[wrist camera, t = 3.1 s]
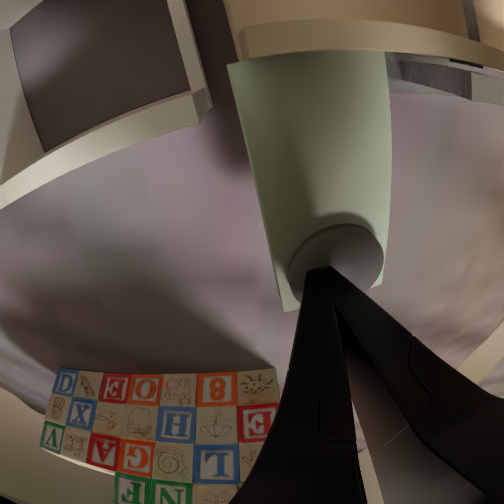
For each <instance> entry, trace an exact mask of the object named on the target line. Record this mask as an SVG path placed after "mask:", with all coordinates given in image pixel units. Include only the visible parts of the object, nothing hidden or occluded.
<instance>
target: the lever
mask: <svg viewBox="0 0 504 504" xmlns="http://www.w3.org/2000/svg"><path fill="white" fill-rule="evenodd" d="M223 3H224V6H225V10H226V14H227V18H228V21H229V25H230V29H231V33H232V37H233V41H234V45H235V49H236V53H237V57H238V61H239V62H236V63H232V64H228V65H227V70H228V74H229V78H230V82H231V86H232V90H233V94H234V98H235V102H236V106H237V111H238V115H239V119H240V123H241V127H242V131H243V136H244V140H245V144H246V148H247V153H248V157H249V161H250V166H251V170H252V174H253V179H254V183H255V187H256V192H257V196H258V201H259V205H260V210H261V214H262V219H263V223H264V228H265V232H266V237H267V241H268V246H269V251H270V255H271V260H272V265H273V269H274V274H275V279H276V283H277V288H278V293H279V296H280V300H281V303H282V307H283V310H284V312H288V311H292V310H296V309H300V304H301V298H302V292H303V286H304V280H305V274H306V271H308V270H312V269H317V268H321V267H326V266H332V267H333V268H335V269H336V270H337V271H338V272H339V273H341V274H342V275H343V276H344V277H346V278H347V279H348V280H349V281H350V282H352V283H353V284H354V285H355V286H356V287H358V288H359V289H360V290H361V291H362V292H364V293H365V292H367V291H368V290H369V289H370V288H371V287H375V286H378V285H381V283H382V277H383V270H384V263H385V255H386V246H387V237H388V227H389V214H390V199H391V174H392V137H391V113H390V98H389V86H388V77H387V68H386V60H385V53H384V51H386V52H401V53H412V54H421V55H428V56H435V57H442V58H447V59H449V61H450V62H454V63H459V64H465V65H469V66H474V67H478V68H483V66H484V67H488V68H491V69H495V70H498V71H501V72H504V0H223Z"/></svg>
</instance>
